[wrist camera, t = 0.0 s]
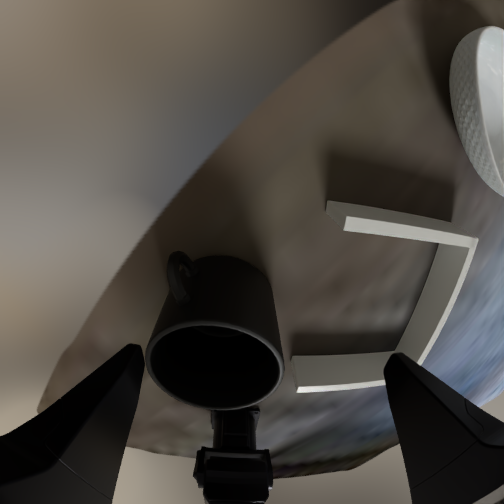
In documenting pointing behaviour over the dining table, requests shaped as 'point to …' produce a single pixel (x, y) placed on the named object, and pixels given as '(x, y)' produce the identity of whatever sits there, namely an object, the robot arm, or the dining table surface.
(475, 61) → the cereal bowl
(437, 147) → the dining table surface
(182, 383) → the mug
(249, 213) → the dining table surface
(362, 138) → the dining table surface
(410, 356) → the tray
